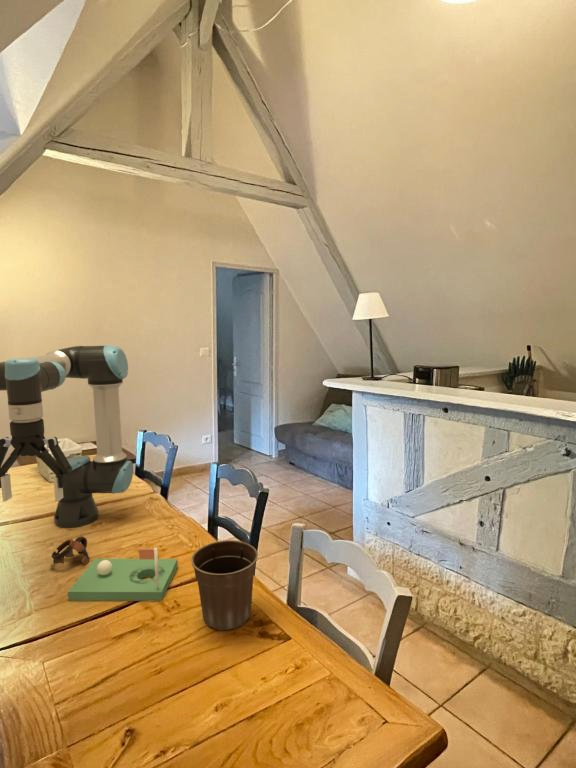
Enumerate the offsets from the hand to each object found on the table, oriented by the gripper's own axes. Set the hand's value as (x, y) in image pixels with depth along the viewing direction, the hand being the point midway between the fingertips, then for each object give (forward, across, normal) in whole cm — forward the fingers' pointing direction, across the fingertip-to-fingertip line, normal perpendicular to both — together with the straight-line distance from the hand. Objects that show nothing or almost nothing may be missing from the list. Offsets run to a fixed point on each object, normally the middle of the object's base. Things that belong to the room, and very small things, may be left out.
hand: (33, 499), depth 120 cm
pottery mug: (+28, 0, +19) cm, 34 cm away
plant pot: (+28, +51, -7) cm, 58 cm away
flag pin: (+28, +29, +1) cm, 40 cm away
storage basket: (+28, -46, +100) cm, 113 cm away
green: (+28, +20, +8) cm, 35 cm away
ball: (+23, +14, +8) cm, 28 cm away
